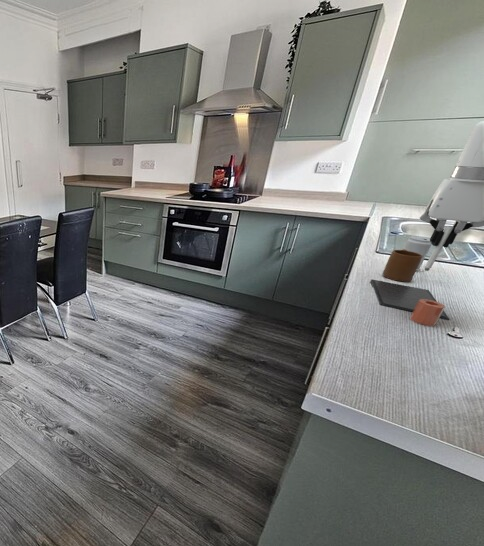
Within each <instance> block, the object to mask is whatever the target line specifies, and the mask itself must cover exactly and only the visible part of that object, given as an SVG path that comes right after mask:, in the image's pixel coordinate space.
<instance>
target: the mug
mask: <svg viewBox="0 0 484 546" xmlns="http://www.w3.org/2000/svg"><path fill="white" fill-rule="evenodd" d="M421 259H422V255H421V254H418V253H415V252H411V251H407V250H405V249H404V248H403V249H394V250H392V252H391V253H390V254H389V258H388V260H387V262H386V264H385V265H384V269H383V271H382V276H384V278H387V279H389V280H392V281H396V282H403V283H404V282H405V283H406V282H407V283H408V282H411V281H412V280H413V278H414V276H415V274H416V272H417V271H418V270H417V268H418V266H419V264H420V261H421Z"/></svg>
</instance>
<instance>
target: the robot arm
mask: <svg viewBox="0 0 484 546" xmlns="http://www.w3.org/2000/svg"><path fill="white" fill-rule="evenodd" d="M419 220H420V221H422V222H425V223H428V224H430V225H431V227H432V228H433V229H434V230H433V232H432V234H431V235H430V238H429V239H430V242H431V246H433V247H436V246H438V244H439V243H440V241H441V239H442V237H443V235H444V230H445V229H444V228H445V225H446V223H447V221H454V223H453V225H451V226H452V227H453V229H452V231H451V233H450V234H449V236H448V238H447V240H446V242H445V243H444V245H443V247H442V248H446V249H447V248H448V247H449V246H450V245H453V243H454V242H455V240H456V238H457V236H458V234H460V233H462V232H464V231H467V230H469V229H472V228H484V120H481V121H479V122H477V123H476V124H475V125H474V126H473V129H472V130H471V132H470V135H469V137H468V139H467V141H466V143H465V145H464V147H463V149H462V151H461V153H460V155H459V158H458V160H457V162H456V164H455V166H454V168H453V171H452V172H451V174H450V177H449V178H444V179H443V180H442V181H441V183H440V184H439V186H438V187H437V188H436V190H435V192H433V195H432V197H431V199H430V200H429V201H428V203H427V206H426V208H425V210H424V212H423V213H422V214H421V216H419Z"/></svg>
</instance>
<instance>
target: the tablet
mask: <svg viewBox="0 0 484 546" xmlns="http://www.w3.org/2000/svg"><path fill="white" fill-rule="evenodd" d="M370 284H371V287H372V288H373V290H374V294H375V295H376V299H377V302H378V304H379V306H381V307H386V308H390V309H394V310H395V309H396V310H399V311H403V312H404V311H405V312H409V313H413V311H414V309H415V307H416V305H417V303H418V301H419V300H420V299H427V300H432V301H436V302H438V301H437V300H436V298H435V297H434V295H433V294H432V292H431V291H430V290H429V289H425V288H419V287H415V286H409V285H404V284H399V283H393V282H388V281H383V280H377V279H372V278H371V279H370ZM439 319H441V320H446V321H450V319H451V318H450V317H449V316H448V314H447V313H446V312H445V309H444V310H443V312H442V314H441V316H440V317H439Z"/></svg>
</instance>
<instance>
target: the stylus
mask: <svg viewBox="0 0 484 546" xmlns="http://www.w3.org/2000/svg"><path fill="white" fill-rule="evenodd" d="M452 226H453V225H446V227H444V228H445V229H444V230H443V232H444V235H443V237H442V239H441V241H440V243H439V244H438V246H434V248H433V251H432V252H431V254H430V256H429V258H428V260H427V262H426V264H425V266H424V271H425V272H428V271H429V270H430V269H431V268H432V267H433V265H434V263H435V262H436V260H437V258H438V256H439V255H440V253H441V251H442V249H443V248H444V247H443V245H444V243H445V242H446V240H447V238H448V236H449V234H450V233H451V231H452V229H453V227H452Z"/></svg>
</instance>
